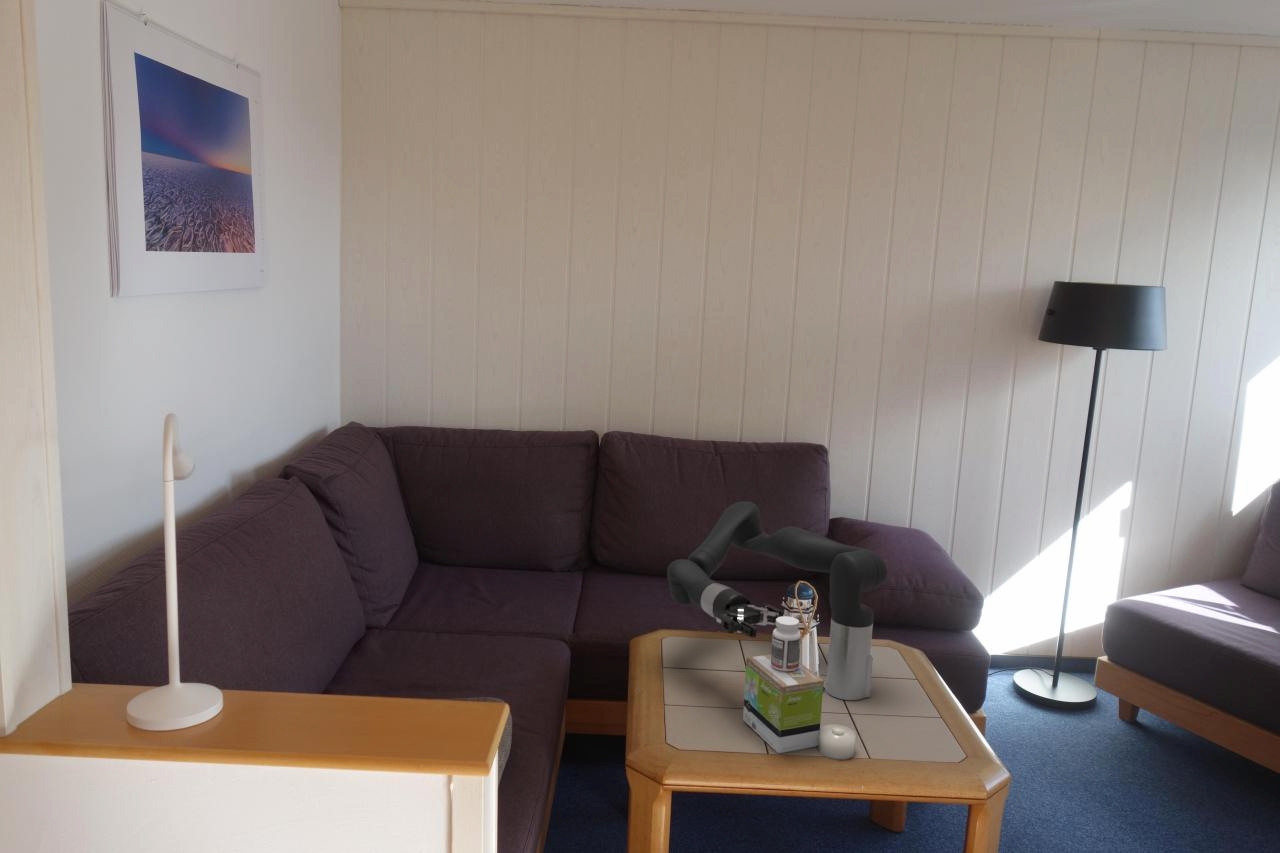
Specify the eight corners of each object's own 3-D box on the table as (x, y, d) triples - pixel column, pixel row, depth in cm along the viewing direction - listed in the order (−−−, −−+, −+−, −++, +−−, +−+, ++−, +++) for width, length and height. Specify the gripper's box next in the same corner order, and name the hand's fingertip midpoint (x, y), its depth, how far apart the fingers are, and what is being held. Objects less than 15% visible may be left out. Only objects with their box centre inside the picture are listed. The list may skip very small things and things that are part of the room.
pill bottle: (797, 662, 205) (801, 616, 203) (799, 673, 199) (803, 626, 198) (769, 659, 205) (773, 614, 204) (771, 671, 200) (774, 624, 198)
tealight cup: (848, 742, 203) (850, 720, 202) (858, 759, 196) (860, 737, 195) (814, 742, 202) (816, 720, 201) (824, 760, 195) (825, 737, 194)
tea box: (740, 721, 210) (745, 655, 207) (781, 715, 214) (786, 650, 211) (777, 755, 196) (782, 684, 193) (820, 747, 200) (826, 678, 197)
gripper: (749, 615, 223) (796, 640, 210) (697, 626, 216) (742, 653, 202) (751, 583, 222) (799, 607, 208) (699, 593, 214) (744, 618, 201)
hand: (771, 629), depth 205 cm, fingers open, 8 cm apart
